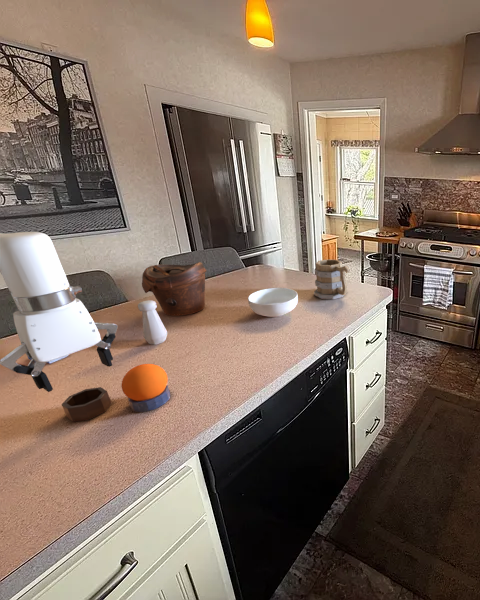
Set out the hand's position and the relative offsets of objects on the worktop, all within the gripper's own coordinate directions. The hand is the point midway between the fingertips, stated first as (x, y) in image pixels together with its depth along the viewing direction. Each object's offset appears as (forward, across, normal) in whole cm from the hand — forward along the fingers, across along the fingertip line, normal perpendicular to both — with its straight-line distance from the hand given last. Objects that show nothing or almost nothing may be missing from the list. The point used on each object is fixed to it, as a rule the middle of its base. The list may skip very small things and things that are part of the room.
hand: (79, 376), depth 67 cm
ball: (+4, -8, +8) cm, 11 cm away
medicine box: (+8, -4, -36) cm, 37 cm away
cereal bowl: (+10, -56, -6) cm, 58 cm away
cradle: (+9, -8, +8) cm, 14 cm away
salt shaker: (+9, -24, -20) cm, 32 cm away
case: (+9, -42, -38) cm, 57 cm away
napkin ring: (+9, 0, 0) cm, 9 cm away
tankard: (+10, -82, +2) cm, 82 cm away
